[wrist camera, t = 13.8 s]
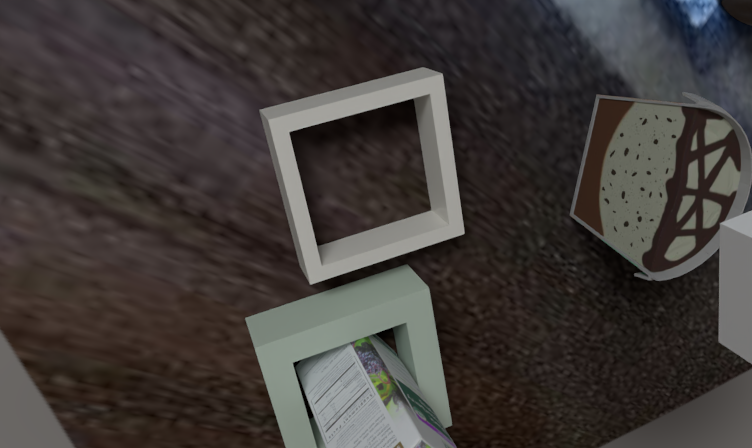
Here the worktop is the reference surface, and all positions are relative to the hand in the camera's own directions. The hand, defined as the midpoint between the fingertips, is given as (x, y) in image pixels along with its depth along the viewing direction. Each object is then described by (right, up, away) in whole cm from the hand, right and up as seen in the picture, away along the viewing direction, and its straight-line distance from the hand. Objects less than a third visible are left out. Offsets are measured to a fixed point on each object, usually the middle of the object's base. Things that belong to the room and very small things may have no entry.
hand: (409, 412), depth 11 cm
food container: (+18, +8, +39) cm, 44 cm away
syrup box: (-3, -7, +37) cm, 38 cm away
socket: (-3, -7, +37) cm, 38 cm away
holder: (-2, +7, +32) cm, 33 cm away
